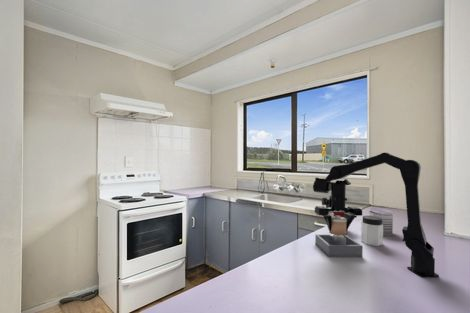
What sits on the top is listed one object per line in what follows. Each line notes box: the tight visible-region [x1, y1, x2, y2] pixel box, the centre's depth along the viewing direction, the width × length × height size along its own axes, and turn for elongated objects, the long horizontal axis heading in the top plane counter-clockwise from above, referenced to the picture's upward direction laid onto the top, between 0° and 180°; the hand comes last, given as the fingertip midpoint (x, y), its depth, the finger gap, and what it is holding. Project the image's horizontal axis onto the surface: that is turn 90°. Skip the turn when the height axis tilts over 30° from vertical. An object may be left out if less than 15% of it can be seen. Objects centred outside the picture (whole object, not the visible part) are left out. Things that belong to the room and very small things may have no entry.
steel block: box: [329, 233, 346, 245], centre depth 103 cm, size 5×5×5 cm
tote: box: [314, 233, 364, 258], centre depth 103 cm, size 14×14×4 cm
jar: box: [360, 215, 384, 247], centre depth 112 cm, size 9×8×12 cm
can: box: [368, 207, 395, 237], centre depth 129 cm, size 11×11×12 cm
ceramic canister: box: [328, 215, 347, 236], centre depth 103 cm, size 7×7×7 cm
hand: (337, 230), depth 103 cm, fingers closed on ceramic canister, 7 cm apart
